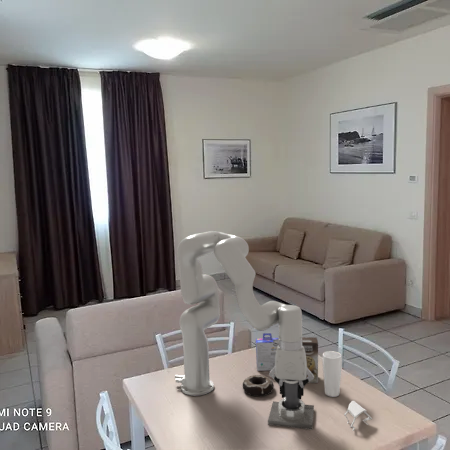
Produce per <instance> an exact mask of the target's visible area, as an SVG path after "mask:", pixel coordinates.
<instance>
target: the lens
mask: <svg viewBox="0 0 450 450" xmlns="http://www.w3.org/2000/svg"><path fill="white" fill-rule="evenodd" d="M283 382H284V406H285V408H287V409H298V408H299V407H300V400H299V381H298V380H285V379H284V380H283Z"/></svg>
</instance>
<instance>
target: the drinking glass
mask: <svg viewBox="0 0 450 450" xmlns="http://www.w3.org/2000/svg"><path fill="white" fill-rule="evenodd" d="M342 357H343V356H342V354H341V353H340V352H338V351H334V350H328V351H327V350H326V351H324V352H323V353H322V358H321V359H322V372H323V373H322V374H323V386H324V394H325V395H326V396H327V397H331V398H336V397H339V395H340V393H341V391H340V390H341V389H340V388H341V379H342V378H341V377H342V365H343V364H342V363H343V361H342V360H343V359H342Z"/></svg>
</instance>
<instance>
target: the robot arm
mask: <svg viewBox="0 0 450 450" xmlns="http://www.w3.org/2000/svg"><path fill="white" fill-rule="evenodd" d="M249 250H250V247H249V244H248V242H247V241H246V240H245V239H244V238H243V237H240V236H238V235H234V234H229V233H226V232H223V231H215V230H209V231H205V232H200V233H194V234H191V235H188V236H186V237H184V238H183V239H181V241H180V242H179V243H178V245H177V249H176V257H177V264H178V269H179V281H180V294H181V298H182V301H183V303H184V304H185V305H190V306H191V305H193V306H191V307H189V308H187V309H185V310H184V311H183V312H182V313H181V315H179V327H180V331H181V336H182V346H183V350H182V351H183V369H184V371H183V373H184V374H182V375H181V374H174V380H175V383H178V384H179V383H181V385H180V391H181V392H182V393H183V394H185V395H187V396H195V397H196V396H198V397H199V396H204V395H208V394H209V393H211V392H212V391H213V390H214V387H215V383H214V381H213V380H211V379H210V357H209V356H210V355H209V341H208V338H207V336H206V333H205V330H206V329H208V328H210V327H212V326H213V325H215V324H217V322H218V321H219V320H220V315H221V309H220V295H219V286H218V283H217V281H216V279H215V278H214V276H211V275H209V274H203V266H202V263H201V261H200V259H199V258H202V257H206V256H209V255H212V254H213V255H214V256H215V259H216V260H217V262H218V263H219V264H220V266H221V267H222V269H223V270H224V272H225V274H226V275H227V276H228V278H229V279H230V281H231V282H232V284H233V285H234V288H235V297H236V302H237V306H238V308H239V310H240V312H241V314H242V315H243V317H244V319H246V321H247V322H248V323H249V325H250V326H251V327H252V328H254V329H255V330H257V331H260V332H261V331H262V332H264V331H266V330H268V329H270V328H271V327H273V326H275V325H278V337H277V338H278V339H275V343H277V344H278V345H279V346H278V347H277V350H276V358H275V366H274V368H273V369H272V370H269V373H268V376H269V377H271V378H272V380H274V381H275V382H276V383H277V384H278V386H279V394H280V395H281V398H282V399H283V398H284V379H285V380H298V381H299V399H300V400H302V397H304V393H305V392H304V390H305V389H304V387H305V386H306V385H307V384H309V381H311V380H313V379H314V375H313V374H312V373H311V371H310V370H309V369H308V368H307V361H306V353H305V349H304V347H303V346H302V337H303V315H302V314H303V312H302V309H301V307H300V306H297V305H295V304H285V303H282V302H279V301H276V300H270V301H267V302H265V303H263V304H260V303H259V301H258V300H257V298H256V296H255V294H254V289H253V288H254V287H253V286H254V281H255V277H256V271H255V269H254V268H253V266H252V264H250V262H249V261H248V259H247V256H248V254H249ZM307 375H308V377H307ZM306 377H307V378H306Z"/></svg>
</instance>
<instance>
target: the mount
mask: <svg viewBox="0 0 450 450" xmlns="http://www.w3.org/2000/svg"><path fill="white" fill-rule="evenodd" d="M299 400H300V399H299ZM314 412H315V405H314V404H305V402H304V401H303V400H302V399H301V400H300V407H299V408H298V409H287V408H285V406H284V398H282V399H280V400H279V401H275V400H273V401H272V405H271V408H270V412H269V415H268V418H267V425H269V426H275V427H277V426H278V427H285V428H294V429H303V430H313V424H314Z"/></svg>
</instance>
